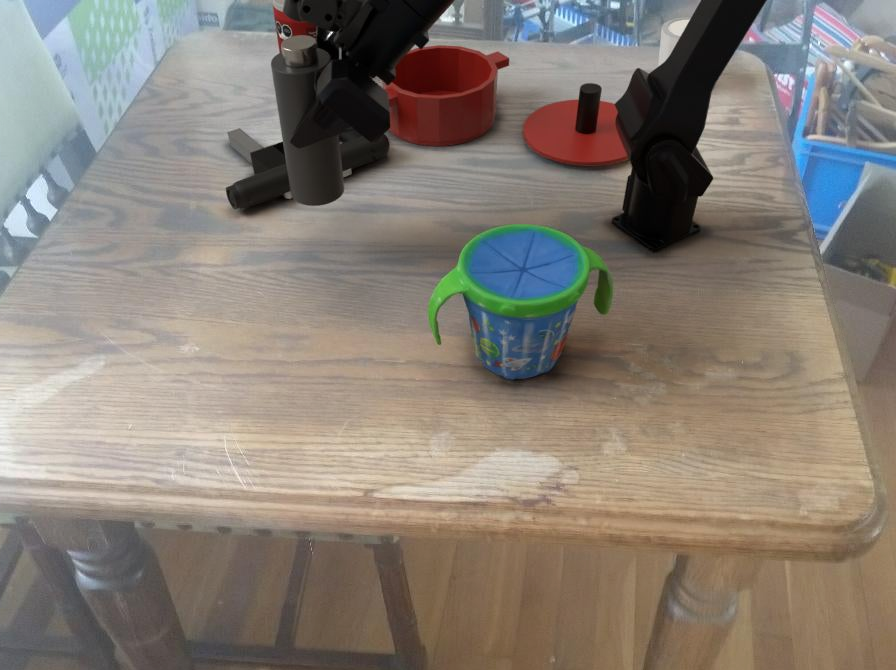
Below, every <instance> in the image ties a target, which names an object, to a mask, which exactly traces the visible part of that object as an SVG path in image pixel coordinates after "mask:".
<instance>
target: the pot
mask: <svg viewBox="0 0 896 670" xmlns="http://www.w3.org/2000/svg"><path fill="white" fill-rule="evenodd" d="M509 66H510V57H508V56H507V55H505V54H504V53H502V52H500V51H499V50H498V51H495V52H492V53H489V54H485V53H483V52H481V51H480V50H476V49H472V48H469V47H465V46H461V45H443V44H438V45H430V46H424V47H423V48H422V49H420V48H419V47H417V48H412V49H411V50H410V51H409V52H408V53H407V54H406V55H405V56H404V57H403V58H402V60H401V61H400V62H399V63H398V64H397V65H396V66H395V73H396V78H395V79H394V80H393V81H392V82H391V83H390V84H389V85H387V84H386V83H384V82H383V81H382V80H381V82H382V84H381V85H382V88H383V89H384V90H385V91H387V92H388V98H389V110H390V128H389V129H388V131H389V132H390V133H392V135H393V136H394V137H395V136H396V137H397V138H398V139H400V140H402V141H405V142H408V143H412V144H416V145H422V146H426V147H427V146H430V147H447V146H456V145H459V144H460V145H461V144H464V143H467V142H470V141H473V140H475V139H478V138H480V137H481V136H483V135H485V134H486V133H487V132H488V131H489V130H491V128H492V126H493V125H494V123H495V118H496V113H497V96H498V95H497V94H498V74H499V73H498V72H499V70H502V69H504V68H507V67H509Z"/></svg>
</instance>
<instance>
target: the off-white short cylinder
mask: <svg viewBox="0 0 896 670" xmlns="http://www.w3.org/2000/svg"><path fill="white" fill-rule="evenodd" d="M691 17H692V16H690V17H678V18H677V17H676V18H671V19H669V20H667V21H665V22H664V23H663V24H662V26H661V33H660V44H659V55H658V66H660V65H661V64H662V63H664V62H665V61H666V60H667V58H668V57H669V56H670V54H671V52H672V51H673V49H674V47H675V45H676V43H677V42H678V40H679V38H680V36H681V35H682V33H683V31H684V29H685V28H686V26H687V24H688V22H689V21H690V19H691ZM658 66H657V67H658Z"/></svg>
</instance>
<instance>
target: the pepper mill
mask: <svg viewBox="0 0 896 670" xmlns="http://www.w3.org/2000/svg"><path fill="white" fill-rule="evenodd" d="M281 48H282V52H281V53H280V52H279V53H277V54H276V55H274V56H273V57H272V59H271V61H270V68H271V73H272V81H273V87H274V94H275V101H276V105H277V112H278V119H279V125H280V132H281V139H282V142H283V146H284V152H285V158H286V165H287V171H288V178H289V184H290V191H291V196H292V198H291V199H293V200H294V201H295V202H296V203H299V204H301V205H304V206H309V207H316V206H317V207H318V206H319V207H320V206H325V205H328V204H329V205H330V204H332V203H335V202H336V201H337V200H339V199H340V198H342V196H343V194H344V192H345V181H344V177H343V170H342V161H341V151H340V144H341V142H340V141H339V135H337V136H334V137H331V138H328V139H325V140H322V141H320V142H317V143H314V144H311V145H308V146H306V147H303V148H300V149H297V148H296V147H294V146H293V145H292V144H290V138H291V136H292V134H293V133H294V131H295V129H296V127H297V126H298V124H299V122H300V121H301V119H302V118H303V116H304V114H305V113H306V111H307V109H308V108H309V106H310V105H311V103H312V101H313V100H314V98H315V97H316V92H315V89H314V77H315V69H316V70H317V71H318V72H320V73H322V71H323V69H324V68H325V67H326V66H327V65H328V64H329V62H330V61H331V56H330V55H329V53H328V52H326V51H325V50H322V49H319V48H317V44H316V40H315V39H314V38H313V37H311V36H306V35H298V36H292V37H289V38H287V39H285V40H284V41H283V42H282V43H281Z"/></svg>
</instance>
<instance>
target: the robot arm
mask: <svg viewBox="0 0 896 670" xmlns="http://www.w3.org/2000/svg"><path fill="white" fill-rule="evenodd" d="M454 2H456V0H285V1H284V7H283V12H284V14H285V15H286V16H287V17H288V18H290V19H292V20H294V21H297V22H300V21H304V22H307V23H309V24H312V25H315V26H317V31H316V41H317V48H319V49H322V50H325V51H326V52H328V53H329V55H330V56H331V61H330V62H329V64H328V65H327V66H326V67H325V68H324V69H323V71H322V73H320V72H318V71H317V70H316V69H315V77H314V89H315V92H316V97H315V98H314V100H313V101H312V103H311V105H310V106H309V108H308V109H307V111H306V113H305V114H304V116H303V118H302V119H301V121H300V122H299V124H298V126H297V127H296V129H295V131H294V133H293V134H292V136H291V138H290V144H292V145H293V146H294V147H296V148H297V149H300V148H303V147H306V146H308V145H311V144H314V143H317V142H320V141H322V140H325V139H328V138H331V137H334V136H337V135H340V134H343V133H347V132H350V131H354V130H356V131H357V132H358V133H359V134H361V135H362V136H363V137H364V138H366V139H367V140H368V141H369V142H371V143H376V142H377V141H378V140H379V139H380V138H381V137H382V136H383V135H384V134H385V135H386V133H387V132H388V131H389V128H390V110H389V98H388V92H387V91H385V90H384V89H383V86H380V84H378V82H376V81H375V80H374V79H376V78H378V79H380V81H381V82H382V81H383V82H384V83H386V84H387V85H389V84H390V83H391V82H392V81H393V80H394V79H395V78H396V73H395V66H396V65H397V64H398V63H399V62H400V61H401V60H402V58H403V57H404V56H405V55H406V54H407V53H408V52H409V51H410V50H413V48H414V47H415V46H416V47H417V48H420V49H422V48H423V47H426V46H427V44H428V43H429V42H430V35H429V30H430V29H431V28H432V27H433V26H434V25H435V23H436V22H437V21H438V20H439V19H440V18H441V17H442V16H443V15H444V13H445V12H446V11H447V10H448V9H449V8H450V7H451V6H452V5H453V4H454ZM767 2H768V0H700V1H699V3H698V5H697V6H696V8H695V10H694V11H693V14H692V15H691V16H690V17H691V19H690V21H689V22H688V24H687V26H686V28H685V29H684V31H683V33H682V35H681V36H680V38H679V40H678V42H677V43H676V45H675V47H674V49H673V51H672V52H671V54H670V56H669V57H668V58H667V60H666V61H665V62H664V63H662V64H661V65H660V66H657V67H656V68H654V69H653V70H651V71H650V72H647V71H645V70H644V69H642V68H641V67H637V68H636V69H634V72H633V73H632V75H631V78H630V81H629V84H628V86H627V88H626V90H625V92H623V94H622V96H621V97H620V98H619V99H618V100H617V101H615V103H614V104H615V107H616V109H617V111H618V114H617V116H616V121H615V125H616V129H617V132H618V135H619V137H620V140H621V142H622V144H623V147H624V149H625V151H626V154H627V156H628V158H629V159H628V160H629V163H630V165H631V170H630V174H629V175H627V180H626V185H625V190H624V196H623V203H622V206H621V207H622V208H621V209H622V211H623V212H622V213H620V214H618V215H615V216H613V217H612V218H611V222H610V223H611V224H612V225H613V226H614V227H616V228H617V229H618V230H620V231H621V232H622V233H624V234H626V235H627V236H629V237H630V238H631V239H633V240H634V241H636V242H637V243H639V244H640V245H641V246H643V247H644V248H646V249H647V250H649V251H650V252H652V253H657V252H660V251H662V250H664V249H666V248H669V247H671V246H672V245H675V244H677V243H680V242H681V241H684V240H686V239H688V238H690V237H692V236H695V235H696V234H699V233H700V232H701V230H702V226H701V225H700V224H699V223H697V222H695V221H694V215H695V212H696V208H697V203H698V200H699V198H700V197H702V196H704V194H705V193H706V191H707V190H708V188H709V187H710V185H711V184H712V182H713V180H714V176H713V174H712V172H711V170H710V168H709V167H708V165H707V164H706V161H705V159H704V158H703V155H702V154H701V152H700V150H699V148H698V147H697V146H698V144H699V141H700V139H701V137H702V135H703V132H704V130H705V128H706V124H707V123H706V122H707V118H708V113H709V108H710V102H711V99H712V94H713V91H714V87H715V85H716V83H717V82H718V81H719V78H721V75H722V74H723V73H724V71H725V70H726V67H727V66H728V64H729V63H730V61H731V60H732V58H733V56H734V55H735V53H736V52H737V50H738V48H739V46H740V45H741V43H742V42H743V40H744V38H745V37H746V35H747V33H748V32H749V30H750V29H751V28H752V25H753V24H754V22H755V20H757V17H758V16H759V15H760V13H761V12H762V10H763V8H764V6H765V5H766V3H767Z"/></svg>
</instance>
